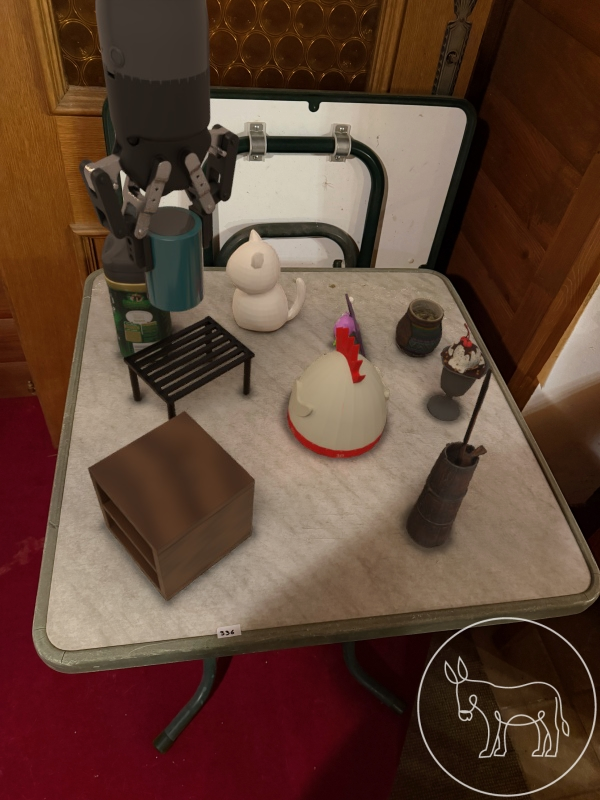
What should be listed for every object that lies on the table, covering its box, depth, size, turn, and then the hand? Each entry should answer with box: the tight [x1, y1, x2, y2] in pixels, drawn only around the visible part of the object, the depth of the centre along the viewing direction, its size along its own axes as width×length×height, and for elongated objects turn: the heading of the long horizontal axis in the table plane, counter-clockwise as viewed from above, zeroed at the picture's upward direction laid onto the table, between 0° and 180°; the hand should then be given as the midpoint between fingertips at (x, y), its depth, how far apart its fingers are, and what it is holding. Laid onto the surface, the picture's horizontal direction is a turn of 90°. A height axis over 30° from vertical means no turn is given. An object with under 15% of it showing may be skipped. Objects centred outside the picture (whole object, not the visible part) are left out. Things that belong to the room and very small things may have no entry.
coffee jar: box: [100, 231, 174, 363], centre depth 79 cm, size 10×8×19 cm
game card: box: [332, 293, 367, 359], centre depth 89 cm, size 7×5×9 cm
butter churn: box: [406, 365, 494, 549], centre depth 59 cm, size 9×10×28 cm
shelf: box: [87, 410, 256, 602], centre depth 61 cm, size 12×12×12 cm
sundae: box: [426, 322, 491, 422], centre depth 78 cm, size 7×7×15 cm
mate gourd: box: [395, 297, 445, 357], centre depth 88 cm, size 7×8×10 cm
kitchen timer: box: [286, 327, 391, 459], centre depth 74 cm, size 14×14×15 cm
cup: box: [144, 205, 205, 313], centre depth 53 cm, size 6×6×8 cm
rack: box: [122, 315, 256, 421], centre depth 77 cm, size 14×10×8 cm
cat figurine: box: [225, 229, 307, 332], centre depth 87 cm, size 9×12×15 cm
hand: (172, 255), depth 52 cm, fingers closed on cup, 5 cm apart
